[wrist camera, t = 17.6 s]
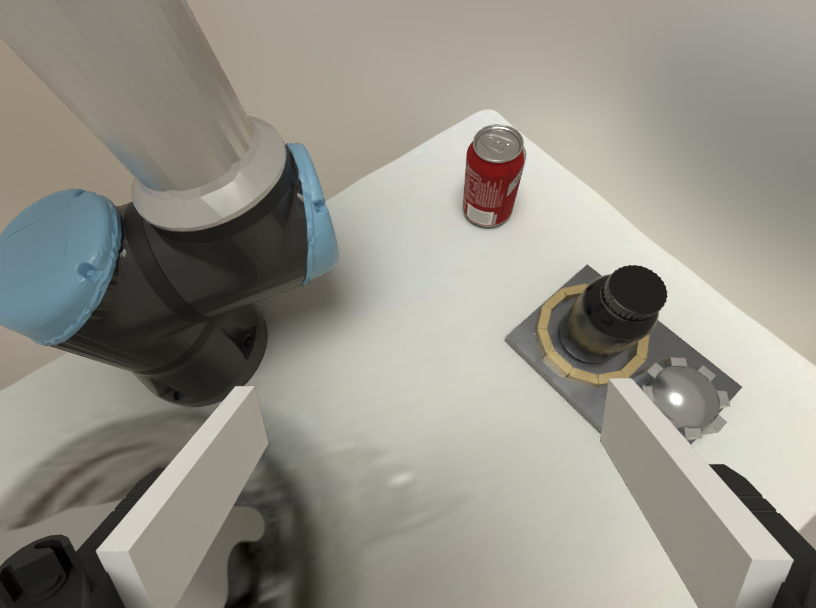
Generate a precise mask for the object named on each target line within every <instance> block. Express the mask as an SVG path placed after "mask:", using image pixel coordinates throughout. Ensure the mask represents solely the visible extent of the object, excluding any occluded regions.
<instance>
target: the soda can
mask: <svg viewBox="0 0 816 608" xmlns="http://www.w3.org/2000/svg"><path fill="white" fill-rule="evenodd" d="M525 160H526V151H525V148H524V146H523V138H522V136H521V134H520V133H519V132H518V131H517V130H516V129H514V128H512V127H510V126H507V125H502V124H495V125H489V126H486V127H484V128H482V129H481V130H480V131H478V132H477V134H476V135H475V137H474V140H473V142H472V143H471V144H470V146H469V148H468V150H467V157H466V171H465V184H464V198H463V211H464V213H465V215H466V217H467V218H468V219H469V220H470V221H471V222H473V223H475V224H477V225H479V226H484V227H492V226H497V225H500V224H502V223H503V222H505V221H506V220H507V219H508V218H509V217H510V215H511V213H512V210H513V206H514V202H515V198H516V195H517V191H518V187H519V183H520V179H521V175H522V172H523V168H524V164H525Z"/></svg>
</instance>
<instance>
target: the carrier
mask: <svg viewBox="0 0 816 608" xmlns="http://www.w3.org/2000/svg"><path fill="white" fill-rule="evenodd" d="M599 277H601V275H600V274H599V273H597V272H596V271H595V270H594V269H592V268H591V267H590V266H589V265H586V266H585V267H584V268H583V269H582V270H581V271H579V272H578V273H577V274H576V275H575V276H574V277H573V278H572V279H570V280H569V281H568V282H567V283H566V284H565V285H564V286H563V287H561V288H560V289H559V290H558V291H557V292H556V293H555V294H554V295H552V296H551V297H550V298H549V299H548V300H547V301H546V302H545V303H544V304H542V305H541V306H540V307H539V308H538V309H537V310H536V311H535V312H533V313H532V314H531V315H530V316H529V317H528V318H527V319H526V320H524V321H523V322H522V323H521V324H520V325H519V326H518V327H517V328H515V329H514V330H513V331H512V332H511V333H510V334H509V335H508V336H507V337H506V339H505V341H506V342H507V343H508V344H509V345H510V346H511V347H512V348H513V349H514V350H515V351H516V352H517V353H518V354H519V355H520V356H521V357H522V358H523V359H524V360H525V361H526V362H527V363H528V364H529V365H530V366H532V367H533V368H534V369H535V370H536V371H537V372H538V373H539V374H540V375H541V376H542V377H543V378H544V379H545V380H546V381H547V382H548V383H549V384H550V385H551V386H552V387H553V388H554V389H555V390H556V391H557V392H558V393H559V394H560V395H561V396H562V397H563V398H564V399H566V400H567V401H568V402H569V403H570V404H571V405H572V406H573V407H574V408H575V409H576V410H577V411H578V412H579V413H580V414H581V415H582V416H583V417H584V418H585V419H586V420H587V421H588V422H589V423H590V424H591V425H592V426H593V427H594V428H595V429H596V430H597V431H599V432H600V433H601V430H602V423H603V416H604V410H605V403H606V396H607V389H608V382H609V379H618V378H631V379H632V380H633V381H634V382H635V383H636V384H637V385H638V386H639V388H640V389H641V390H642V391H643V392H644V393H645V394H646V395H647V396H648V398H649V399H650V400H651V401H652V402H653V403H654V404H655V405H656V407H657V408H658V409H659V410H660V411H661V412H662V413H663V414H664V415H665V417H666V418H667V419H668V420H669V421H670V422H671V423H672V424H673V426H674V427H675V428H676V429H677V430H678V431H679V432H680V433H681V434H682V436H683V437H684V438H685V439H686V440H687V441H688V442H689V443H690V445H691V444H692V443H693V442H694V441H695V440H696V439H699V438H702V435H705V434H711V433H717V432H719V431H720V430H721V429H722V427H723V426H724V425H725V424H726V423H727V422H726V421H725V420H724V419H723V418H722V417H720V416H719V415H718V414H719V413H720V412H721V410H722V409H723V408H725V407H729V406H730V403H729V401H730V400H731V399H732V398H733V397H734V396H735V395H736V394H737V392H738V391H739V390H740V389H741V388H742V386H740V385H739V384H738V383H737V382H735V381H734V380H733V379H732V378H730V377H729V376H728V375H726V374H725V373H724V372H723V371H721V370H720V369H719V368H718V367H716V366H715V365H714V364H713V363H711V362H710V361H709V360H707V359H706V358H705V357H704V356H702V355H701V354H700V353H699V352H697V351H696V350H695V349H694V348H692V347H691V346H690V345H689V344H687V343H686V342H685V341H683V340H682V339H681V338H680V337H678V336H677V335H676V334H675V333H673V332H672V331H671V330H670V329H668V328H667V327H666V326H664V325H663V324H662V323H661V322H659V321H657V323H656V326H655V327H654V329H653V330H652V331H651V332H650V333H649V334H648V335H646V336H645V337H644V338H642V339H641V340H639V341H638V342H637V343H635V344H634V345H632V346H631V347H629V348H628V349H626V350H625V351H623V352H622V353H621V354H619V355H618V356H616V357H614V358H613V359H611V360H609V361H607V362H603V363H588V362H584V361H582V360H579V359H578V358H576V357H574V356H573V355H572V354H571V353H569V352H568V350H567V349H566V348H565V346H564V345H563V343H562V341H561V337H560V324H561V321H562V319H563V317H564V316H565V314H566V313H567V312H568V310H569V309H570V308H571V306H572V305H573V304H574V302H575V301H576V300H577V298H578V297H579V296H580V295H581V293H582V292H583V291H584V289H585V288H586V287H587V286H588V285H589V284H590V283H591V282H592V281H593V280H595V279H597V278H599Z"/></svg>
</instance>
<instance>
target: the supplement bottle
mask: <svg viewBox="0 0 816 608" xmlns="http://www.w3.org/2000/svg"><path fill="white" fill-rule="evenodd" d="M666 298H667V290H666V286H665V285H664V282H663V281H662V280H661V278H660V277H659V276H658V275H657V274H656V273H654V272H653V271H652V270H649V269H647V268H645V267H642V266H636V265H634V266H631V265H629V266H624V267H622V268H619V269H618V270H615V271H614V272H613V273H612V274H609V275H604V276H601V277H599V278H597V279H595V280H593V281H592V282H591V283H590V284H589V285H588V286H587V287H586V288H585V289H584V291H583V292H582V293H581V295H580V296H579V297H578V298H577V300H576V301H575V302H574V304H573V305H572V306H571V308H570V309H569V310H568V312H567V313H566V314H565V316H564V317H563V319H562V321H561V324H560V337H561V341H562V343H563V345H564V346H565V348H566V349H567V350H568V352H569V353H571V354H572V355H573V356H574V357H576V358H578V359H579V360H582V361H584V362H588V363H603V362H607V361H609V360H611V359H613V358H614V357H616V356H618V355H619V354H621V353H622V352H623V351H625V350H626V349H628V348H629V347H631V346H632V345H634V344H635V343H637V342H638V341H639V340H641V339H642V338H644V337H645V336H646V335H648V334H649V333H650V332H651V331H652V330H653V329H654V327H655V326H656V323H657V321H658V317H659V311H660V310H661V308H662V307H663V306H664V303H665V302H666Z"/></svg>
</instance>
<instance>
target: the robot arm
mask: <svg viewBox="0 0 816 608" xmlns="http://www.w3.org/2000/svg"><path fill="white" fill-rule="evenodd" d="M0 37H1V38H2V39H3V41H4V42H5V43H6V44H7V45H8V46H9V47H10V48H11V49H12V50H13V51H14V52H15V53H16V54H17V55H18V56H19V57H20V58H21V59H22V60H23V61H24V62H25V63H26V64H27V65H28V67H29V68H30V69H32V70H33V72H34V73H35V74H36V75H37V76H38V77H39V78H40V79H41V80H42V81H43V82H44V83H45V84H46V85H47V86H48V87H49V88H50V89H51V90H52V91H53V92H54V94H55V95H56V96H57V97H58V98H59V99H60V100H61V101H62V102H63V103H64V104H65V105H66V106H67V107H68V108H69V109H70V110H71V111H72V112H73V113H74V114H75V115H76V116H77V117H78V119H79V120H81V122H82V123H83V124H84V125H85V126H86V127H87V128H88V129H89V130H90V131H91V132H92V133H93V134H94V135H95V136H96V137H97V138H98V139H99V140H100V141H101V142H102V143H103V145H104V146H105V147H106V148H107V149H108V150H109V151H110V152H111V153H112V154H113V155H114V156H115V157H116V158H117V159H118V160H119V161H120V162H121V163H122V164H123V165H124V166H125V167H126V168H127V169H128V170H129V172H130V173H131V174H132V175H134V178H133V183H132V190H131V191H132V193H131V196H132V201H133V202H130V203H128V204H125V205H122V206H118V207H117V206H115V205H114V204H113V202H111V201H110V200H109V199H108V198H107V197H105V196H102V195H98V194H96V193H94V192H88V191H85V190H82V189H69V190H64V191H59V192H56V193H53V194H50V195H48V196H46V197H44V198H42V199H40V200H38V201H36V202H35V203H33V204H32V205H30V206H29V207H27V208H26V209H25V210H23V211H22V212H21V213H20V214H19V215H17V216H16V217H15V218H14V219H13V220H12V221H11V222H10V223H9V225H8V226H7V227H6V228H5V229H4V231H3V232H2V234H1V235H0V325H2V326H3V327H5V328H7V329H10V330H12V331H15V332H17V333H20V334H22V335H24V336H27V337H29V338H31V339H32V340H34V341H35V342H36V343H38V344H41V345H45V346H51V347H55V348H58V349H61V350H64V351H67V352H71V353H74V354H77V355H80V356H83V357H86V358H90V359H93V360H96V361H99V362H102V363H106V364H109V365H112V366H115V367H118V368H121V369H125V370H128V371H131V372H133V373H134V374H135V375H136V377H137V378H138V379H139V380H140V381H141V382H142V383H143V384H144V385H145V386H146V387H147V388H148V389H149V390H150V391H151V392H152V393H154V394H155V395H156V396H158V397H160V398H162V399H164V400H166V401H169V402H172V403H176V404H179V405H183V406H192V407H194V406H205V405H209V404H213V403H216V402H218V401H221V400H223V399H224V400H223V402H222V403H221V404H220V405H219V406H218V408H217V409H216V410H215V411H214V412H213V413H212V415H211V416H210V417H209V418H208V419H207V421H206V422H205V423H204V424H203V425H202V426H201V428H200V429H199V430H198V431H197V432H196V433H195V435H194V436H193V437H192V438H191V439H190V441H189V442H188V443H187V444H186V445H185V446H184V448H183V449H182V450H181V451H180V452H179V454H178V455H177V456H176V457H175V458H174V459H173V461H172V462H171V463H170V464H169V465H168V466H167V468H157V469H155V470H154V471H152V472H151V473H150V474H148V475H147V476H146V477H144V478H143V479H141V480H140V481H139V482H138V483H137V484H136V485H135V486H134V488H133V489H132V490H131V491H130V492H129V493H128V494H127V495H126V498H125V499H123V500H122V501H121V502H120V503H119V504H118V506H117V507H116V508H115V511H112V512H111V513H110V514H109V515H108V517H107V518H106V519H105V520H104V521H103V522H102V523H101V525H100V526H99V527H98V528H97V529H96V530H95V531H94V532H93V533H92V534H91V536H90V537H89V538H88V539H87V540H86V541H85V542H84V544H82V546H81V547H80V548H79V549H78V550H77V551H76V552H75V550H74V548H73V546H72V544H71V542H70V540H69V538H68V537H66V536H63V535H51V536H48V537H45V538H42V539H39V540H36V541H34V542H32V543H30V544H29V545H27V546H25V547H23V548H21V549H20V550H19V551H17V552H16V553H14V554H13V555H12V556H11V557H9V558H8V559H7V560H6V561H5V562H4V563H3V564H2V565H1V566H0V608H176V606H177V604H178V602H179V601H180V599H181V597H182V595H183V593H184V592H185V590H186V588H187V586H188V584H189V583H190V581H191V579H192V577H193V575H194V574H195V572H196V571H197V569H198V567H199V565H200V563H201V562H202V560H203V558H204V556H205V555H206V553H207V551H208V549H209V548H210V546H211V544H212V542H213V541H214V538H215V537H216V535H217V533H218V532H219V530H220V528H221V526H222V525H223V523H224V521H225V519H226V518H227V516H228V514H229V512H230V510H231V509H232V507H233V505H234V503H235V502H236V500H237V498H238V496H239V495H240V493H241V491H242V489H243V487H244V486H245V484H246V482H247V480H248V479H249V477H250V475H251V473H252V472H253V470H254V468H255V466H256V465H257V463H258V461H259V459H260V457H261V456H262V454H263V452H264V450H265V449H266V447H267V445H268V441H267V436H266V432H265V428H264V424H263V419H262V415H261V411H260V407H259V402H258V398H257V394H256V390H255V386H243V385H244V384H245V383H246V382H247V381H248V380H249V379H250V378H251V376H252V375H253V374H254V372H255V371H256V369H257V368H258V366H259V364H260V362H261V360H262V357H263V354H264V351H265V347H266V340H267V330H266V324H265V320H264V318H263V315H262V313H261V312H260V310H259V309H258V307H257V306H256V305H255V304H254V303H255V302H258V301H261V300H263V299H266V298H269V297H272V296H274V295H277V294H280V293H282V292H285V291H288V290H290V289H293V288H296V287H298V286H303V285H306V284H307V283H308V282H309V281H310V280H312V279H314V278H316V277H319V276H321V275H323V274H325V273H327V272H329V271H331V270H332V269H333V268H334V267H335V265H336V264H337V261H338V246H337V241H336V237H335V233H334V229H333V225H332V221H331V218H330V215H329V211H328V209H327V207H326V205H325V199H324V196H323V192H322V188H321V185H320V182H319V179H318V176H317V173H316V170H315V168H314V165H313V162H312V160H311V158H310V155H309V153H308V151H307V149H306V147H305V146H304V145H303V144H301V143H295V144H292V143H287V144H286V145H285V144H284V141H283V139H282V137H281V135H280V134H279V133H278V132H277V130H276V129H275V128H274V127H273V126H272V125H270V124H268V123H267V122H265V121H263V120H261V119H257V118H255V117H251V116H247V114H246V112H245V111H244V108H243V106H242V105H241V103H240V101H239V99H238V97H237V95H236V93H235V91H234V90H233V88H232V86H231V84H230V82H229V80H228V78H227V76H226V74H225V73H224V71H223V69H222V67H221V65H220V63H219V61H218V59H217V58H216V56H215V54H214V52H213V50H212V48H211V46H210V44H209V42H208V41H207V39H206V37H205V35H204V33H203V31H202V29H201V28H200V26H199V24H198V22H197V20H196V18H195V16H194V14H193V12H192V11H191V9H190V7H189V5H188V3H187V1H186V0H0ZM600 442H601V443H602V445H603V447H604V448H605V450H606V452H607V454H608V455H609V457H610V459H611V460H612V462H613V464H614V465H615V467H616V469H617V470H618V472H619V474H620V476H621V477H622V479H623V481H624V482H625V484H626V486H627V487H628V489H629V491H630V493H631V494H632V496H633V498H634V499H635V501H636V503H637V504H638V506H639V508H640V510H641V511H642V513H643V515H644V516H645V518H646V520H647V521H648V523H649V525H650V527H651V528H652V530H653V532H654V533H655V535H656V537H657V538H658V540H659V542H660V543H661V545H662V547H663V549H664V550H665V552H666V554H667V555H668V557H669V559H670V560H671V562H672V564H673V566H674V567H675V569H676V571H677V572H678V574H679V576H680V577H681V579H682V581H683V583H684V584H685V586H686V588H687V589H688V591H689V593H690V594H691V596H692V598H693V599H694V601H695V603H696V605H697V606H698V608H816V550H815V549H814V548H813V547H812V546H811V545H810V544H809V543H808V542H807V541H806V540H805V539H804V538H803V537H802V536H801V535H800V534H799V533H798V532H797V531H796V530H795V529H794V528H793V527H792V526H791V525H790V524H789V522H788V521H787V520H786V519H785V518H784V517H783V516H782V515H781V514H780V513H777V512H776V509H775V508H774V507H773V506H772V505H771V504H770V503H769V502H768V501H767V500H766V499H763V497H762V495H761V494H760V493H759V492H758V491H757V490H756V489H755V487H754V486H753V485H752V484H751V483H750V482H749V481H748V480H747V479H746V478H744V477H743V476H741V475H740V474H738V473H737V472H735V471H734V470H732V469H731V468H729V467H727V466H726V465H724V464H707V462H706V461H705V460H704V459H703V458H702V457H701V456H700V455H699V453H698V452H697V451H696V450H695V449H694V448H693V447H692V446H691V445H690V443H689V442H688V441H687V440H686V439H685V438H684V437H683V436H682V434H681V433H680V432H679V431H678V430H677V429H676V428H675V427H674V426H673V424H672V423H671V422H670V421H669V420H668V419H667V418H666V417H665V415H664V414H663V413H662V412H661V411H660V410H659V409H658V408H657V407H656V405H655V404H654V403H653V402H652V401H651V400H650V399H649V398H648V396H647V395H646V394H645V393H644V392H643V391H642V390H641V389H640V388H639V386H638V385H637V384H636V383H635V382H634V381H633V380H632V379H631V378H618V379H609V382H608V389H607V396H606V403H605V410H604V416H603V423H602V430H601V437H600Z"/></svg>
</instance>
